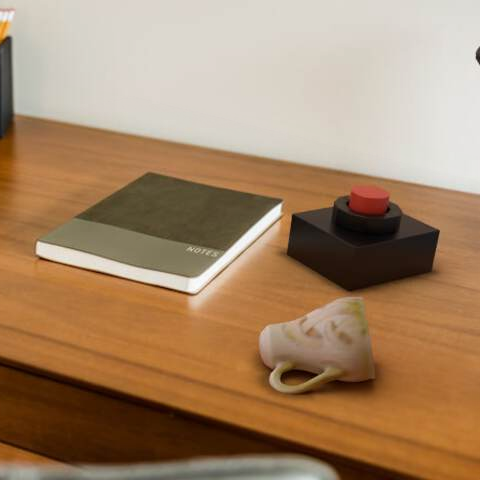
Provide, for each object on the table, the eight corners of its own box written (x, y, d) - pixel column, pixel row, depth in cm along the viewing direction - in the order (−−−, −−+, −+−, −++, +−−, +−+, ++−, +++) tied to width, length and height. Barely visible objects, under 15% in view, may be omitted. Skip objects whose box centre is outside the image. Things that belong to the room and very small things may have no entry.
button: (368, 200, 98) (371, 183, 98) (394, 213, 95) (398, 195, 94) (340, 205, 97) (343, 187, 96) (366, 218, 93) (370, 200, 93)
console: (366, 240, 105) (375, 184, 103) (431, 274, 97) (443, 214, 95) (285, 257, 100) (293, 197, 97) (348, 294, 92) (359, 231, 89)
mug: (245, 346, 81) (310, 257, 79) (336, 409, 80) (404, 320, 78) (240, 369, 74) (311, 271, 72) (340, 438, 73) (415, 341, 71)
